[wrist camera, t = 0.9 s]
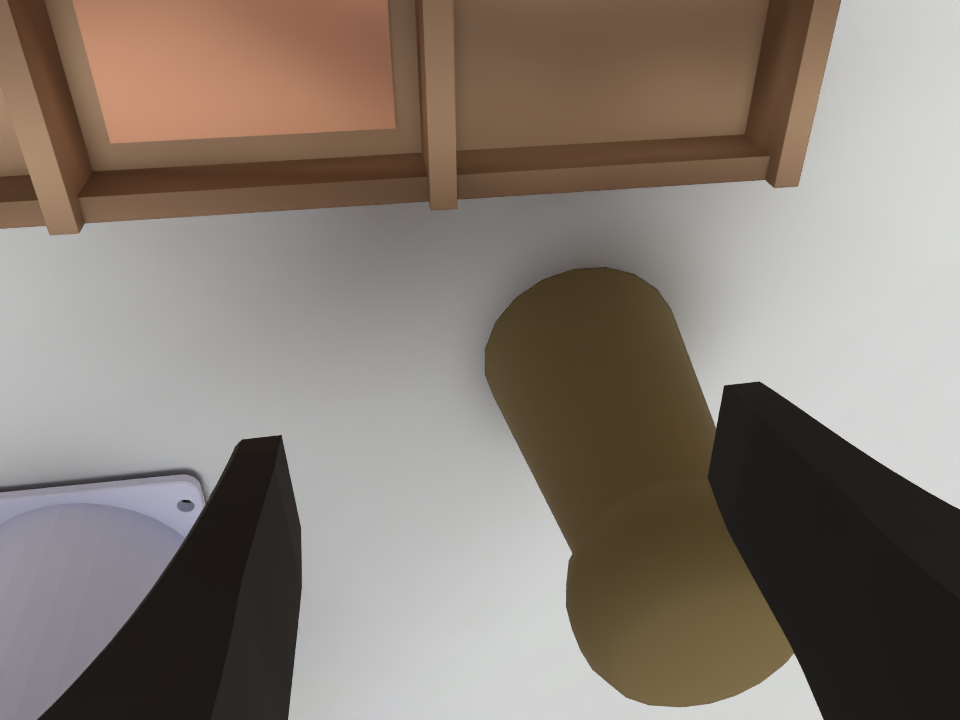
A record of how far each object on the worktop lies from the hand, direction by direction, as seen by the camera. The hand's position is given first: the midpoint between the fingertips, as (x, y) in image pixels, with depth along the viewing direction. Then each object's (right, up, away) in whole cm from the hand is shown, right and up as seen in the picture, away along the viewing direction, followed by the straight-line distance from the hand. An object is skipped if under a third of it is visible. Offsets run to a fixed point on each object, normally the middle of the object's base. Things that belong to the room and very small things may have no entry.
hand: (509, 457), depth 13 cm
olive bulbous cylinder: (+3, +2, +12) cm, 13 cm away
